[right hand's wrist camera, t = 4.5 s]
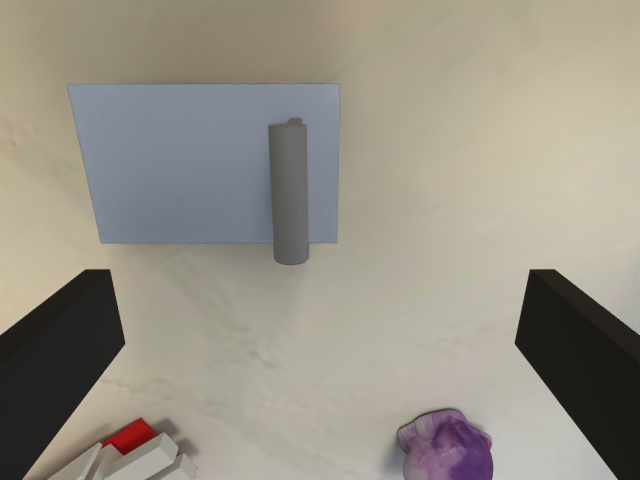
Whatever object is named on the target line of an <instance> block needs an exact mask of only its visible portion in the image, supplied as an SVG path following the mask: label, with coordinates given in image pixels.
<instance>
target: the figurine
mask: <svg viewBox="0 0 640 480" xmlns="http://www.w3.org/2000/svg"><path fill="white" fill-rule="evenodd" d="M398 437H399V443H400V446H401V447H402V449H403V450H404V452H405V453H406V454H407V456H406V458H405V461H404V464H403V474H404V479H405V480H492V477H493V460H492V455H491V453H490V449H491V447H492V443H493V441H492V438H491V437H490V436H489V435H488V434H487V433H485V432H483V431H481V430H479V429H477V428H474V427H472V426H470V425H469V424H468V422H467V420H466V418H465V416H464V415H463V414H462V413H461V412H459V411H455V410H452V409H447V410H444V411H438V412H433V413H429V414H426V415H423V416H420V417H419V418H418V419H416V420H415V421H414V422H413V423H411V424H409V425H406V426H404V427H403V428H401V429H399V431H398Z"/></svg>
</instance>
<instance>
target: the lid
mask: <svg viewBox="0 0 640 480" xmlns="http://www.w3.org/2000/svg"><path fill="white" fill-rule="evenodd" d="M67 87H68V92H69V97H70V101H71V106H72V111H73V115H74V120H75V125H76V129H77V134H78V139H79V143H80V148H81V153H82V157H83V162H84V167H85V171H86V176H87V180H88V185H89V190H90V194H91V199H92V204H93V208H94V213H95V218H96V222H97V227H98V232H99V236H100V241H101V243H274V259H275V261H276V262H278V263H280V264H285V265H296V264H301V263H304V262H305V261H307V260H308V258H309V243H337V232H338V161H339V91H340V85H339V84H68V85H67Z"/></svg>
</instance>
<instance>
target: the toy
mask: <svg viewBox="0 0 640 480" xmlns="http://www.w3.org/2000/svg"><path fill="white" fill-rule="evenodd" d="M178 448H179V447H178V446H177V445H176V444H175V443H174V442H173V441H172V440H171V438H170V437H169V436H168V435H167V434H166V433H165V432H163V433H161V434H160V435H157V434H156V433H155V432H154V431H153V430H152V429H151V428H150V427H149V426H148V425H147V424H146V423H145V422H144V421H143V420H142V419H141V418H140V419H139V420H137V421H136V422H134V423H133V424H131V425H130V426H128V427H126V428H125V429H123V430H122V431H120V432H119V433H117V434H116V435H114V436H113V437H111V438H110V439H108V440H106V441H105V442H103V443H102V444H101V443H100V442H98V443H97V444H95V445H94V446H93V447H91V448H90V449H88V450H87V451H86V452H84V453H83V454H82V455H80V456H79V457H78V458H76V459H75V460H73V461H72V462H71V463H69V464H68V465H67V466H65V467H64V468H62V469H61V470H60V471H58V472H57V473H56V474H54V475H53V476H51V477H49V478H48V479H46V480H195V478H196V473H197V468H198V467H197V466H196V465H195V464H194V463H193V462H192V460H191V459H190V458H189V457H188V456H187V455H186V454H185V453H182V454H180V455H179V456H178V455H177V451H178Z"/></svg>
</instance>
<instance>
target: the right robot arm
mask: <svg viewBox="0 0 640 480" xmlns="http://www.w3.org/2000/svg"><path fill="white" fill-rule="evenodd" d="M124 345H125V339H124V334H123V329H122V325H121V320H120V315H119V310H118V305H117V301H116V296H115V291H114V286H113V281H112V277H111V272H110V269H85V270H84V271H83V272H82V273H80V274H79V275H78V276H76V277H75V278H74V279H72V280H71V281H70V282H69V283H67V284H66V285H65V286H63V287H62V288H61V289H60V290H58V291H57V292H56V293H54V294H53V295H52V296H51V297H49V298H48V299H47V300H45V301H44V302H43V303H41V304H40V305H39V306H38V307H36V308H35V309H34V310H32V311H31V312H30V313H29V314H27V315H26V316H25V317H23V318H22V319H21V320H20V321H18V322H17V323H16V324H14V325H13V326H12V327H10V328H9V329H8V330H7V331H5V332H4V333H3V334H1V335H0V480H22V479H23V478H24V476H25V475H26V474H27V472H28V471H29V470H30V468H31V467H32V466H33V464H34V463H35V462H36V461H37V459H38V458H39V457H40V455H41V454H42V453H43V451H44V450H45V449H46V447H47V446H48V445H49V443H50V442H51V441H52V440H53V438H54V437H55V436H56V434H57V433H58V432H59V430H60V429H61V428H62V426H63V425H64V424H65V422H66V421H67V420H68V418H69V417H70V416H71V415H72V413H73V412H74V411H75V409H76V408H77V407H78V405H79V404H80V403H81V401H82V400H83V399H84V397H85V396H86V395H87V393H88V392H89V391H90V390H91V388H92V387H93V386H94V384H95V383H96V382H97V380H98V379H99V378H100V376H101V375H102V374H103V372H104V371H105V370H106V369H107V367H108V366H109V365H110V363H111V362H112V361H113V359H114V358H115V357H116V355H117V354H118V353H119V351H120V350H121V349H122V347H123V346H124ZM515 345H516V346H517V347H518V349H519V350H520V351H521V353H522V354H523V355H524V357H525V358H526V359H527V361H528V362H529V363H530V365H531V366H532V367H533V369H534V370H535V371H536V372H537V374H538V375H539V376H540V378H541V379H542V380H543V382H544V383H545V384H546V386H547V387H548V388H549V390H550V391H551V392H552V393H553V395H554V396H555V397H556V399H557V400H558V401H559V403H560V404H561V405H562V407H563V408H564V409H565V411H566V412H567V413H568V415H569V416H570V417H571V418H572V420H573V421H574V422H575V424H576V425H577V426H578V428H579V429H580V430H581V432H582V433H583V434H584V436H585V437H586V438H587V440H588V441H589V442H590V443H591V445H592V446H593V447H594V449H595V450H596V451H597V453H598V454H599V455H600V457H601V458H602V459H603V461H604V462H605V463H606V464H607V466H608V467H609V468H610V470H611V471H612V472H613V474H614V475H615V476H616V478H617V479H618V480H640V335H639V334H637V333H636V332H635V331H633V330H632V329H631V328H630V327H628V326H627V325H626V324H624V323H623V322H622V321H620V320H619V319H618V318H617V317H615V316H614V315H613V314H611V313H610V312H609V311H608V310H606V309H605V308H604V307H602V306H601V305H600V304H599V303H597V302H596V301H595V300H593V299H592V298H591V297H589V296H588V295H587V294H586V293H584V292H583V291H582V290H580V289H579V288H578V287H577V286H575V285H574V284H573V283H571V282H570V281H569V280H568V279H566V278H565V277H564V276H562V275H561V274H560V273H558V272H557V271H556V270H555V269H530V272H529V277H528V281H527V286H526V291H525V296H524V301H523V305H522V310H521V315H520V320H519V325H518V329H517V334H516V339H515Z"/></svg>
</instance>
